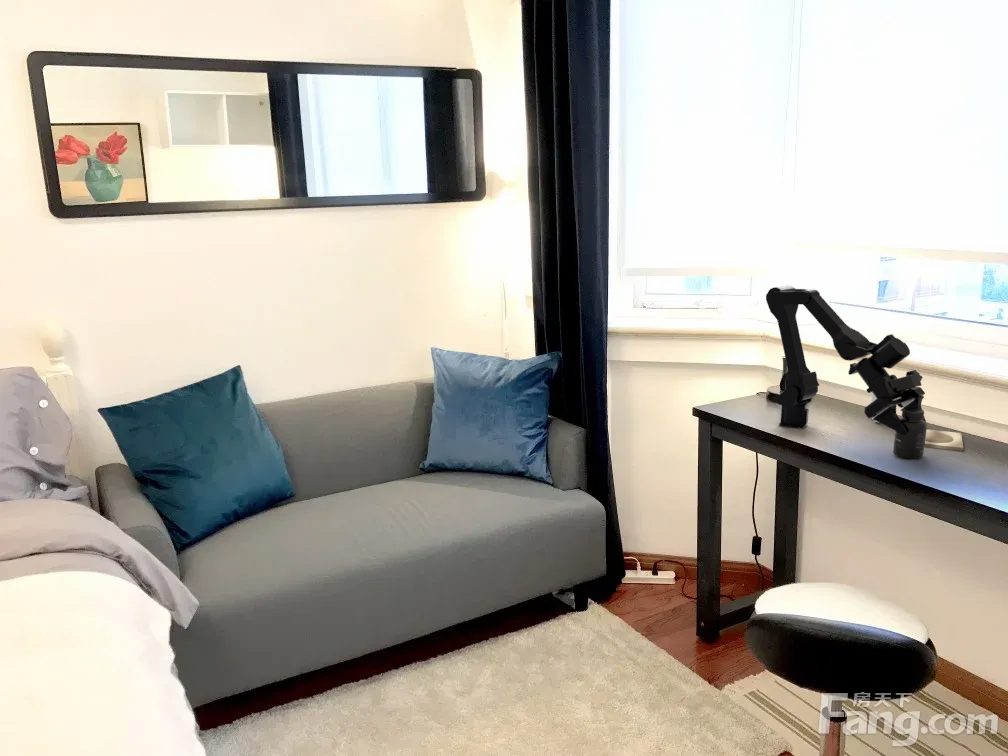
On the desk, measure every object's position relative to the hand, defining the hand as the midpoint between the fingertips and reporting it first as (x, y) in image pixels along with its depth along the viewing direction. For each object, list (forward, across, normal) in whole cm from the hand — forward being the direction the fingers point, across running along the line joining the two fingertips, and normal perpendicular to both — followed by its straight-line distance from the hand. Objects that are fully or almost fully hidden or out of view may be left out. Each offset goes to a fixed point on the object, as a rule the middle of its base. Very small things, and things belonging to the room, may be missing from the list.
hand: (915, 430), depth 196 cm
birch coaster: (+2, +17, +7) cm, 18 cm away
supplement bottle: (+4, 0, +6) cm, 7 cm away
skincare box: (-10, +22, +20) cm, 32 cm away
